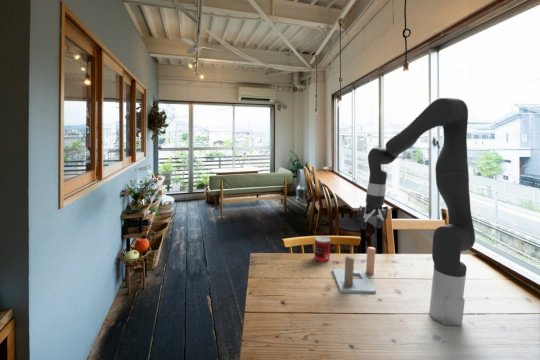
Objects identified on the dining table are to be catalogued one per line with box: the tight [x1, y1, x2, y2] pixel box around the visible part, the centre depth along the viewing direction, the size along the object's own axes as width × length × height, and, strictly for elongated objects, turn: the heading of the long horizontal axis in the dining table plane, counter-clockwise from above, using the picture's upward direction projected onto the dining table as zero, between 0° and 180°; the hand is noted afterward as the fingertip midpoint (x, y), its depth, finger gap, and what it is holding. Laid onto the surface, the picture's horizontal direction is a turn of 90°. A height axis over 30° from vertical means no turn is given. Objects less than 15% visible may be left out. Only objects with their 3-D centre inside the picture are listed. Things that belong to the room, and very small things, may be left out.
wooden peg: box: [365, 246, 376, 276], centre depth 127 cm, size 3×3×12 cm
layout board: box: [332, 255, 377, 294], centre depth 119 cm, size 18×14×13 cm
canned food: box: [314, 235, 331, 263], centre depth 141 cm, size 8×8×11 cm
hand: (370, 228), depth 124 cm, fingers open, 8 cm apart
